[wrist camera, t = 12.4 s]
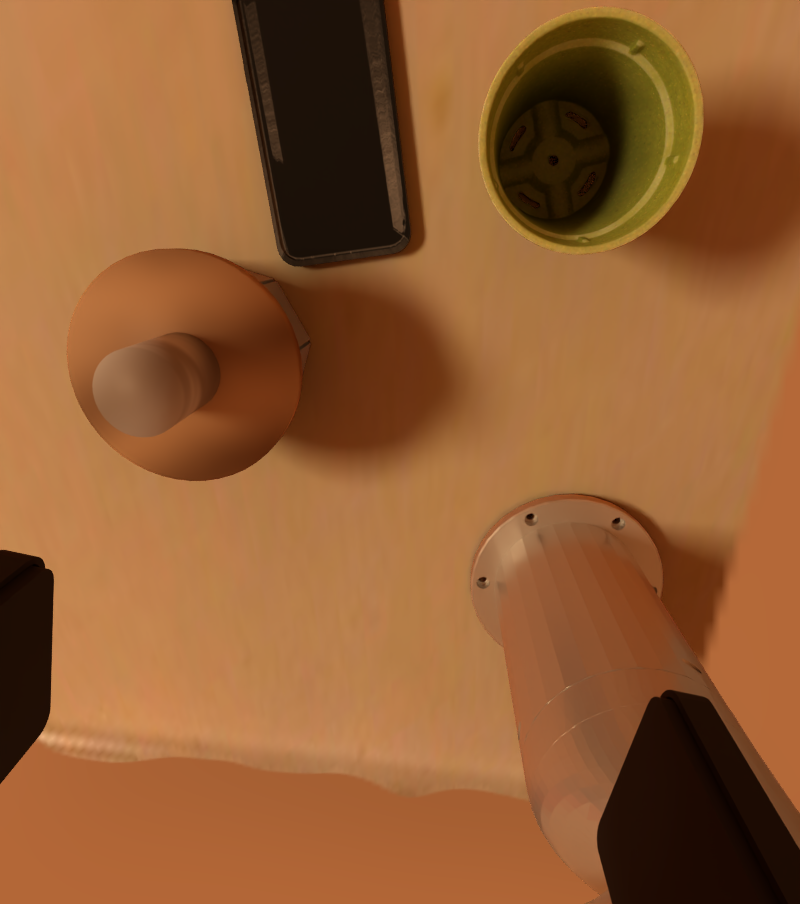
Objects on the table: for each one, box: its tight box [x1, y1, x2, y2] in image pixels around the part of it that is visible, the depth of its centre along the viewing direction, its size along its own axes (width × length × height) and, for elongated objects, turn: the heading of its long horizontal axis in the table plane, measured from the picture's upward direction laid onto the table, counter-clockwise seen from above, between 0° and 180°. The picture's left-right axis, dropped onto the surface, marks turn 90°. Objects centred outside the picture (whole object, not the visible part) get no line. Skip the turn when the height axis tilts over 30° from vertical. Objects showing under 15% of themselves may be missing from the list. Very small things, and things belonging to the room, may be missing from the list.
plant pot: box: [478, 6, 704, 255], centre depth 30 cm, size 9×9×9 cm
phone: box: [232, 0, 411, 266], centre depth 34 cm, size 8×1×15 cm
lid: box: [67, 249, 303, 481], centre depth 30 cm, size 12×12×6 cm
